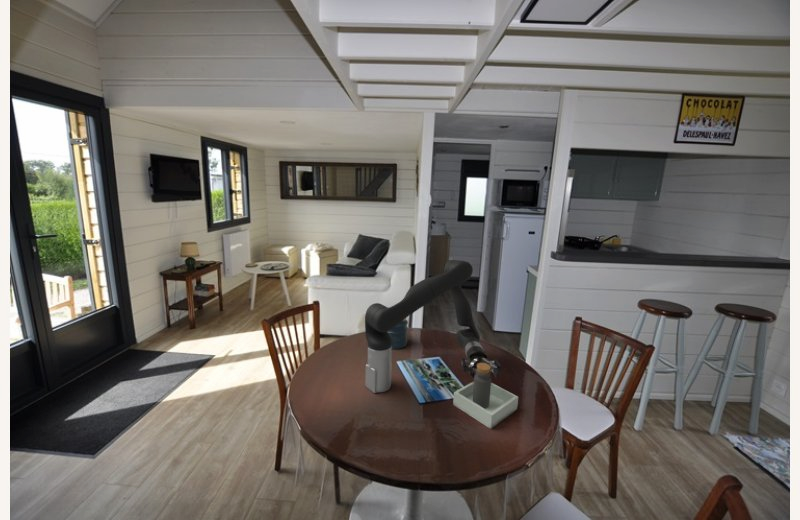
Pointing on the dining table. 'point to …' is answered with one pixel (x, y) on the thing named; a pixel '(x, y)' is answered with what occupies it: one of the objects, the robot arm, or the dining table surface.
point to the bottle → (482, 385)
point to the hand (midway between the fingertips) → (485, 375)
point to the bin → (497, 410)
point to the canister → (399, 335)
